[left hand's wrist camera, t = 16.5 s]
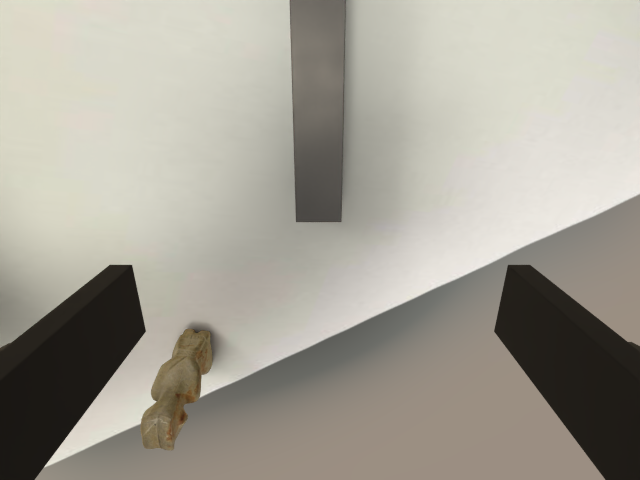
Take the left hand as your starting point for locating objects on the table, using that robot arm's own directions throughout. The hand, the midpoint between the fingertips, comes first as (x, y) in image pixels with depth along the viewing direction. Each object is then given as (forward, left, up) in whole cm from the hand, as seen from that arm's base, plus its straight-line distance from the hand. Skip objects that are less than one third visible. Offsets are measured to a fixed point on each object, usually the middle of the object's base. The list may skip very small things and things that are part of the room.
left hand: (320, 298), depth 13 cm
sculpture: (-29, -14, -32) cm, 45 cm away
